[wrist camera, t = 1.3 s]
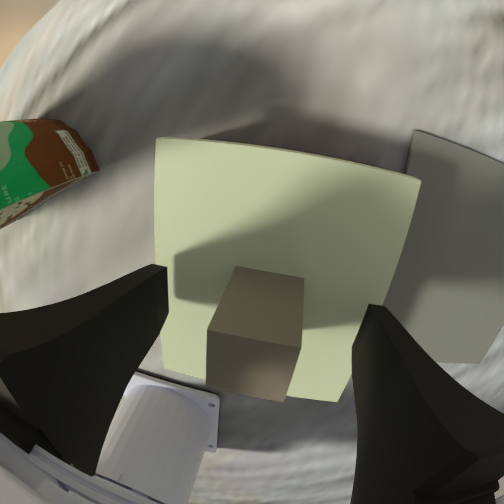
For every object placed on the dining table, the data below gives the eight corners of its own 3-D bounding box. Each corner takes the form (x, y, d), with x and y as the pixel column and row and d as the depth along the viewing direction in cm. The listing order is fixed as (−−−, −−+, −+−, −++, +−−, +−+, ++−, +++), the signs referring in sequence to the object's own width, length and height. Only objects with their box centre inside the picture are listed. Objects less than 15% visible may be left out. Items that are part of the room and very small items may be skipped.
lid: (336, 392, 13) (337, 463, 10) (168, 360, 14) (135, 422, 11) (415, 176, 9) (474, 216, 5) (163, 136, 10) (89, 153, 6)
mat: (478, 360, 15) (479, 363, 15) (347, 350, 16) (348, 354, 16) (552, 190, 10) (555, 191, 9) (413, 129, 11) (415, 130, 10)
